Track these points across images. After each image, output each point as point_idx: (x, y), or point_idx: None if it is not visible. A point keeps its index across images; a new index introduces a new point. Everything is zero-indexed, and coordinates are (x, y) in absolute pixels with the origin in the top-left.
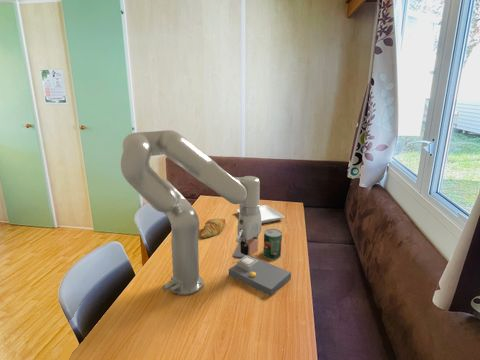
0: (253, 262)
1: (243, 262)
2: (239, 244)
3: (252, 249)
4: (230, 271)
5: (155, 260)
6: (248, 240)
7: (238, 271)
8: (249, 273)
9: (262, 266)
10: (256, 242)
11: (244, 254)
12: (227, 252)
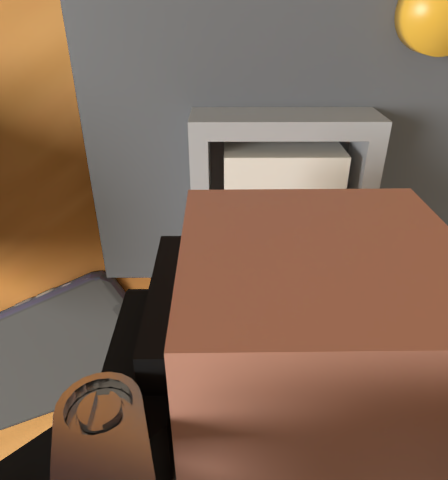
0: (249, 152)
1: None
2: (12, 420)
3: (376, 238)
4: None
5: None
6: (356, 474)
7: (430, 190)
8: (409, 75)
9: (186, 44)
10: (233, 312)
11: None
12: None
